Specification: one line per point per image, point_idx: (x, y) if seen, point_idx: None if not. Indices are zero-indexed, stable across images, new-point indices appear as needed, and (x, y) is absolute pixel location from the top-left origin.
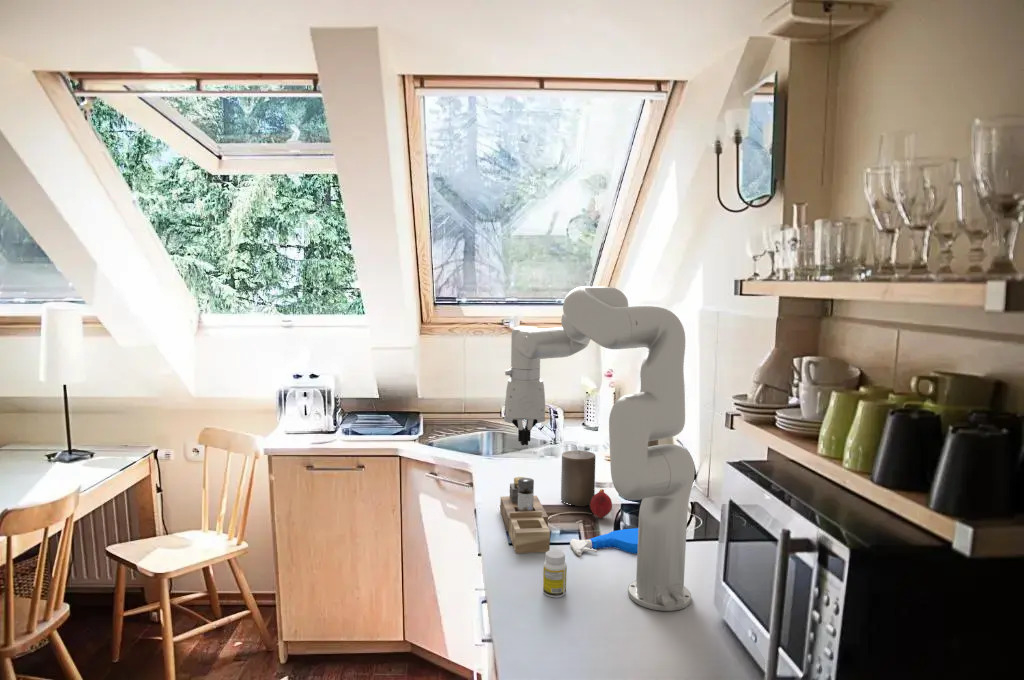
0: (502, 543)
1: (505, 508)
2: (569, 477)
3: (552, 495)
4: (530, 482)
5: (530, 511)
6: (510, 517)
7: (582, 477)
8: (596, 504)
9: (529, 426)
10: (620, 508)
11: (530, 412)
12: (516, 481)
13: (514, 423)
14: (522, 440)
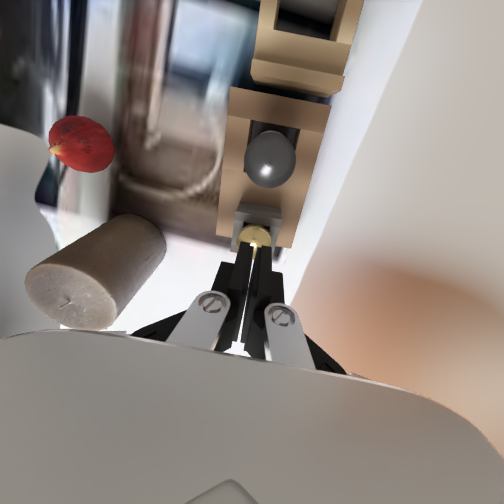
0: (364, 44)
1: (310, 177)
2: (127, 253)
3: (175, 276)
4: (263, 133)
5: (282, 75)
6: (341, 75)
7: (95, 239)
8: (91, 129)
9: (211, 313)
10: (59, 186)
11: (158, 445)
12: (268, 235)
13: (330, 362)
14: (270, 257)
